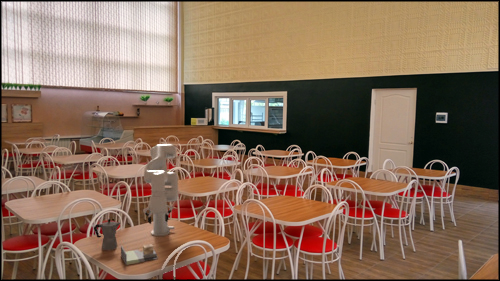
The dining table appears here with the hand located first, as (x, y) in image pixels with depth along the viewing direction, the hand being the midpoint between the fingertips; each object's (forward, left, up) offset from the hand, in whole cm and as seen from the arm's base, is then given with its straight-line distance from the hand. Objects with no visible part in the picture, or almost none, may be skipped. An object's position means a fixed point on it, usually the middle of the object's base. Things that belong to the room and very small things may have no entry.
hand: (158, 222), depth 218 cm
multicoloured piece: (+11, +1, -19) cm, 22 cm away
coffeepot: (+25, -22, -19) cm, 39 cm away
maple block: (+6, +1, -17) cm, 18 cm away
